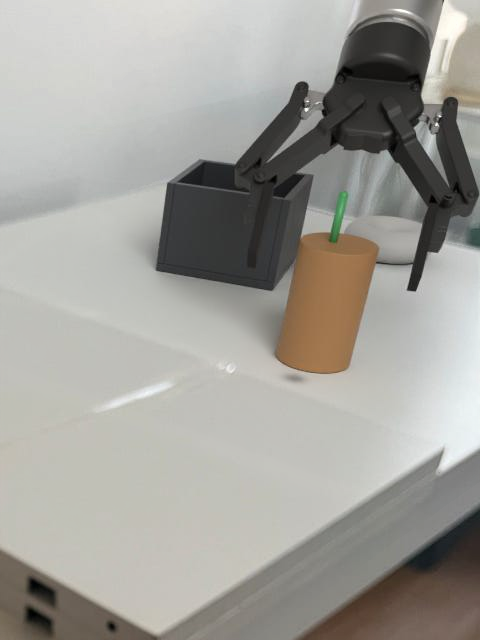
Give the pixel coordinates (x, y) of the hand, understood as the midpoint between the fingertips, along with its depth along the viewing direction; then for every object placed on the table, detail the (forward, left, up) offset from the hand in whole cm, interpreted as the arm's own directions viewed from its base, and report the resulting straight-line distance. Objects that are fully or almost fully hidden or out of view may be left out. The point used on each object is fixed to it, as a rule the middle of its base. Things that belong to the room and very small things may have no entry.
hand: (331, 271), depth 88 cm
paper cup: (-1, +1, -7) cm, 7 cm away
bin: (+18, -18, -7) cm, 27 cm away
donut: (+7, -35, -7) cm, 37 cm away
